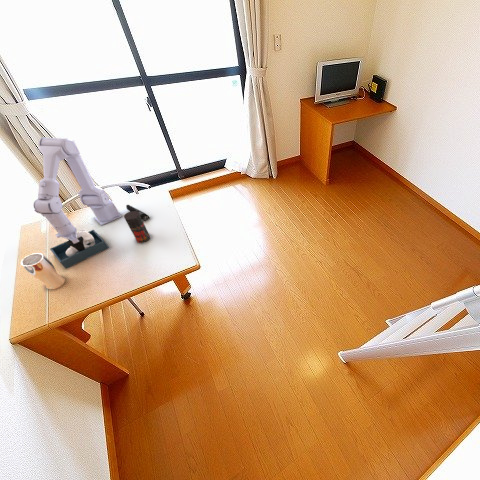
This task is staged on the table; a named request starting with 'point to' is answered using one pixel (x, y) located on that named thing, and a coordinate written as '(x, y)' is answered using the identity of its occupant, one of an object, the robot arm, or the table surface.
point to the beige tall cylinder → (42, 270)
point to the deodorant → (137, 226)
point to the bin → (80, 256)
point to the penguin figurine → (87, 240)
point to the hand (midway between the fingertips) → (78, 246)
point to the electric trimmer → (142, 214)
